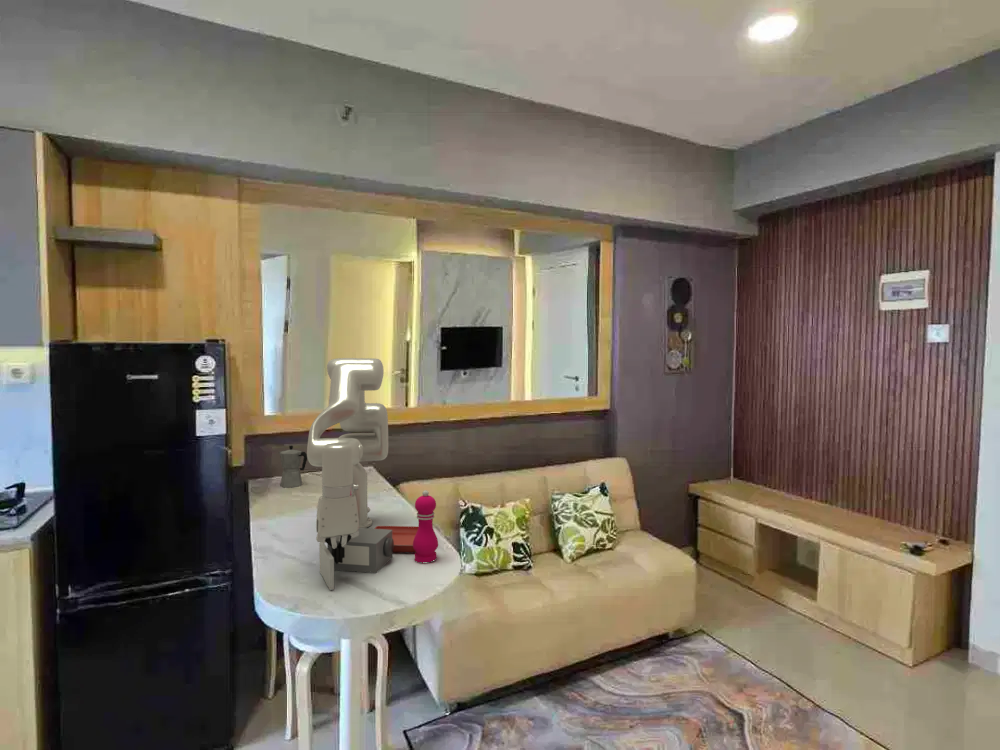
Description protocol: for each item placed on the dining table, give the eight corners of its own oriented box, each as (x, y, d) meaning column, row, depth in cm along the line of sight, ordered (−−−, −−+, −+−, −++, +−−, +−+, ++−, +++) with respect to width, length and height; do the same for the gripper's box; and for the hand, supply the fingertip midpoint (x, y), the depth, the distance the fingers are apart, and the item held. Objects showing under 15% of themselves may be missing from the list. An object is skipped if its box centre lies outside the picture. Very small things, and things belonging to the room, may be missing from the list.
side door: (324, 568, 151) (324, 540, 151) (336, 588, 138) (335, 558, 137) (318, 569, 150) (318, 540, 150) (329, 590, 137) (329, 559, 137)
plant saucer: (431, 535, 181) (431, 525, 180) (424, 555, 162) (424, 544, 162) (376, 535, 180) (376, 525, 180) (362, 555, 162) (362, 544, 162)
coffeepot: (271, 486, 245) (271, 446, 244) (286, 482, 254) (286, 443, 253) (300, 489, 240) (299, 448, 239) (314, 484, 249) (314, 445, 248)
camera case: (347, 553, 163) (346, 524, 162) (396, 557, 160) (396, 527, 160) (327, 569, 151) (327, 537, 150) (380, 573, 148) (380, 541, 148)
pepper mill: (414, 565, 154) (414, 494, 153) (411, 556, 161) (411, 488, 160) (440, 562, 156) (440, 492, 155) (435, 553, 163) (435, 486, 162)
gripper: (362, 485, 149) (363, 552, 150) (304, 491, 142) (305, 561, 143) (370, 491, 142) (370, 561, 143) (310, 498, 135) (310, 571, 136)
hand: (338, 561), depth 143 cm, fingers closed
